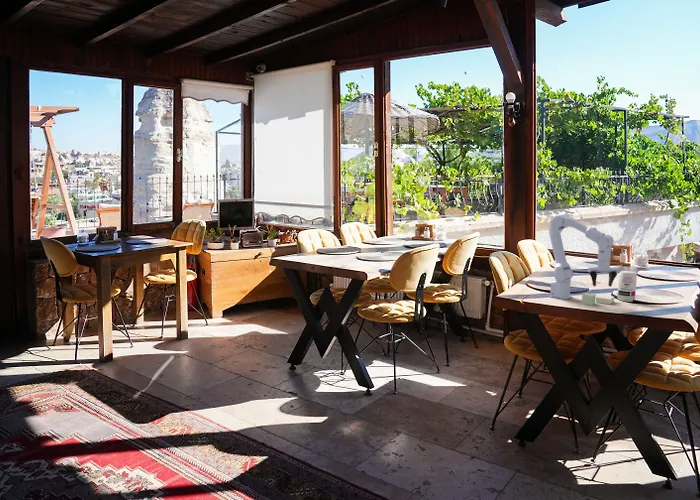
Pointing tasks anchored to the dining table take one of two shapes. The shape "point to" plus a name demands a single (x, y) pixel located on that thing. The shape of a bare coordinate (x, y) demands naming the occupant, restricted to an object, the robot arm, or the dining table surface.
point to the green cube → (588, 298)
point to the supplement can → (627, 286)
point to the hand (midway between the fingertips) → (602, 286)
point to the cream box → (604, 299)
